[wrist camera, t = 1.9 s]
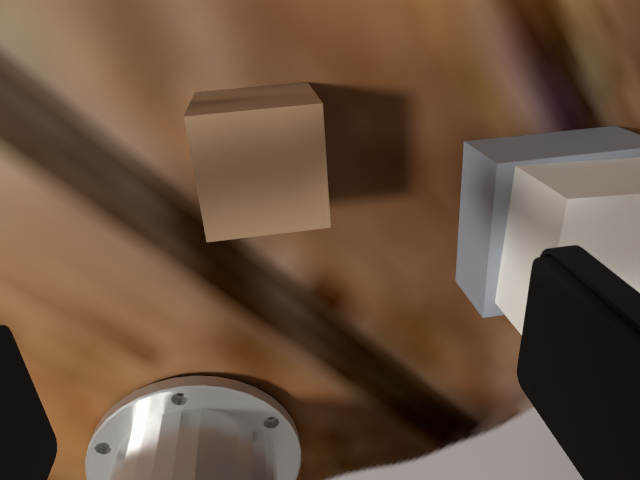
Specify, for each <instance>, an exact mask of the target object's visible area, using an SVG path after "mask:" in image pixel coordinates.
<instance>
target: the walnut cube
mask: <svg viewBox="0 0 640 480" xmlns="http://www.w3.org/2000/svg"><path fill="white" fill-rule="evenodd" d="M184 121H185V127H186V132H187V137H188V143H189V148H190V154H191V159H192V165H193V170H194V175H195V181H196V186H197V192H198V197H199V203H200V208H201V213H202V219H203V224H204V230H205V235H206V241H207V242H213V241H222V240H230V239H239V238H247V237H255V236H264V235H272V234H281V233H289V232H297V231H306V230H314V229H323V228H331V224H330V208H329V192H328V176H327V161H326V145H325V129H324V114H323V103H322V101H321V100H320V99H319V97H318V96H317V94H316V93H315V92H314V90H313V89H312V88H311V86H310V85H309V83H308V82H302V83H291V84H281V85H270V86H259V87H248V88H237V89H226V90H215V91H205V92H195V93H194V96H193V98H192V100H191V102H190V104H189V106H188V108H187V111H186V113H185V115H184Z"/></svg>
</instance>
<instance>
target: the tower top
mask: <svg viewBox="0 0 640 480" xmlns="http://www.w3.org/2000/svg"><path fill="white" fill-rule="evenodd" d="M571 245H578V246H580V247H582V248H583V249H585V250H586V251H587V252H588V253H590V254H591V255H592V256H593V257H595V258H596V259H597V260H598V261H600V262H601V263H602V264H604V265H605V266H606V267H607V268H609V269H610V270H611V271H612V272H614V273H615V274H616V275H617V276H619V277H620V278H621V279H623V280H624V281H625V282H626V283H628V284H629V285H630V286H631V287H633V288H634V289H635V290H636V291H638V292H639V293H640V157H636V158H621V159H607V160H592V161H577V162H562V163H547V164H532V165H517V166H515V171H514V178H513V185H512V191H511V198H510V205H509V211H508V218H507V225H506V231H505V238H504V245H503V251H502V258H501V265H500V271H499V278H498V285H497V291H496V298H495V303H496V304H497V306H498V307H499V308H500V309H501V311H502V312H503V313H504V314H505V316H506V317H507V318H508V319H509V320H510V322H511V323H512V324H513V325H514V327H515V328H516V329H517V330H518V332H519V333H520V334H521V335H522V331H523V324H524V317H525V310H526V303H527V296H528V289H529V283H530V276H531V269H532V264H533V261H534V259H536V258H537V257H540V255H541V253H542V252H543V250H545V249H547V248H555V247H563V246H571Z"/></svg>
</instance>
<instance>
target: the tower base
mask: <svg viewBox="0 0 640 480" xmlns="http://www.w3.org/2000/svg"><path fill="white" fill-rule="evenodd" d="M636 157H640V134H637V133H634V132H631V131H628V130H626V129H623V128H620V127H617V126H610V127H600V128H590V129H580V130H570V131H561V132H551V133H541V134H531V135H522V136H512V137H502V138H492V139H483V140H473V141H464V150H463V167H462V183H461V199H460V215H459V231H458V247H457V263H456V279H455V281H456V282H457V284H458V285H459V286H460V288H461V289H462V290H463V292H464V293H465V294H466V296H467V297H468V298H469V300H470V301H471V303H472V304H473V305H474V307H475V308H476V309H477V311H478V312H479V313H480V315H481V316H482V317H483V318H485V317H492V316H499V315H505V314H504V313H503V312H502V311H501V309H500V308H499V307H498V306H497V304H496V303H495V298H496V291H497V285H498V278H499V271H500V265H501V258H502V251H503V245H504V238H505V231H506V225H507V218H508V211H509V205H510V198H511V191H512V185H513V178H514V171H515V166H517V165H532V164H547V163H562V162H577V161H592V160H607V159H621V158H636Z"/></svg>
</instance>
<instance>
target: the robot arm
mask: <svg viewBox="0 0 640 480" xmlns="http://www.w3.org/2000/svg"><path fill="white" fill-rule="evenodd" d="M517 376H518V381H519V384H520V386H521V388H522V390H523V391H524V393H525V394H526V396H527V397H528V399H529V400H530V401H531V403H532V404H533V406H534V407H535V409H536V410H537V412H538V413H539V414H540V416H541V418H542V419H543V420H544V422H545V423H546V425H547V426H548V428H549V429H550V431H551V432H552V434H553V435H554V437H555V438H556V439H557V441H558V443H559V444H560V445H561V447H562V448H563V450H564V451H565V453H566V454H567V456H568V457H569V459H570V460H571V462H572V463H573V465H574V466H575V467H576V469H577V470H578V472H579V473H580V475H581V476H582V478H583V479H584V480H640V293H639V292H638V291H636V290H635V289H634V288H633V287H631V286H630V285H629V284H628V283H626V282H625V281H624V280H623V279H621V278H620V277H619V276H617V275H616V274H615V273H614V272H612V271H611V270H610V269H609V268H607V267H606V266H605V265H604V264H602V263H601V262H600V261H598V260H597V259H596V258H595V257H593V256H592V255H591V254H590V253H588V252H587V251H586V250H585V249H583V248H582V247H580V246H578V245H571V246H563V247H555V248H547V249H545V250H543V252H542V253H541V255H540V257H537V258H536V259H534V261H533V264H532V269H531V276H530V283H529V289H528V296H527V303H526V310H525V317H524V324H523V331H522V338H521V345H520V352H519V359H518V366H517ZM56 452H57V442H56V437H55V434H54V432H53V429H52V427H51V425H50V422H49V420H48V418H47V415H46V413H45V410H44V408H43V406H42V403H41V401H40V399H39V396H38V394H37V392H36V389H35V387H34V384H33V382H32V380H31V377H30V375H29V373H28V370H27V368H26V365H25V363H24V361H23V358H22V356H21V354H20V351H19V349H18V346H17V344H16V342H15V339H14V337H13V335H12V332H11V331H10V329H9V328H8V327H7V326H5V325H0V480H47V478H48V476H49V473H50V471H51V468H52V466H53V463H54V460H55V457H56ZM300 467H301V446H300V440H299V434H298V431H297V429H296V426H295V424H294V421H293V419H292V418H291V417H290V415H289V414H288V412H287V411H286V410H285V408H284V407H283V406H282V405H280V404H279V403H278V402H277V401H276V400H275V399H274V398H273V397H271V396H270V395H268V394H266V393H265V392H263V391H261V390H259V389H258V388H256V387H253V386H251V385H248V384H245V383H243V382H240V381H237V380H232V379H227V378H222V377H216V376H187V377H177V378H171V379H167V380H163V381H159V382H156V383H152V384H150V385H147V386H145V387H143V388H140V389H138V390H136V391H134V392H132V393H130V394H129V395H127V396H126V397H124V398H123V399H121V400H120V401H118V402H117V403H116V404H115V405H114V406H113V407H112V408H111V409H110V410H109V411H108V412H106V413H105V414H104V415H103V417H102V419H101V420H100V422H99V423H98V425H97V426H96V428H95V429H94V432H93V435H92V438H91V440H90V443H89V446H88V449H87V455H86V460H85V468H86V478H87V480H297V477H298V474H299V470H300Z"/></svg>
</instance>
